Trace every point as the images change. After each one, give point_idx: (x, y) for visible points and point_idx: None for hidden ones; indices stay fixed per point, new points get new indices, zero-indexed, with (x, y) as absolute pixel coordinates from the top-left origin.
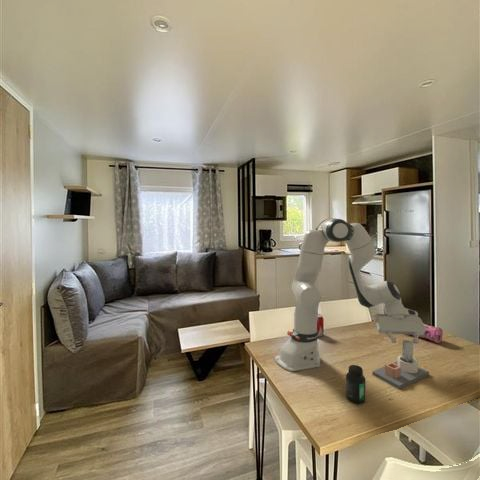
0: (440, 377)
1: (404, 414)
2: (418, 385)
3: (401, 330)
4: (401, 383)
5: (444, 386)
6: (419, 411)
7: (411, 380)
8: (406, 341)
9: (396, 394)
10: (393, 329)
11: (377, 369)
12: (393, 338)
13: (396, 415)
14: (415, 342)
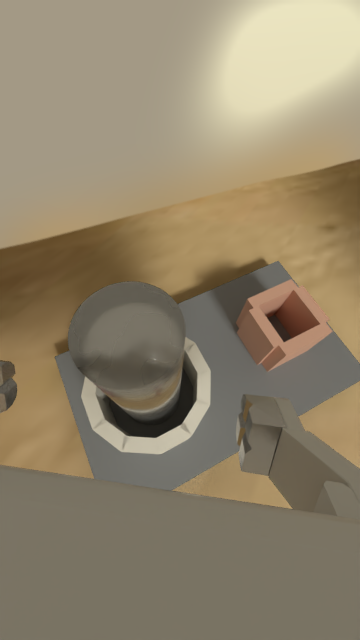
0: (24, 339)
1: (311, 175)
2: (177, 289)
3: (91, 488)
4: (261, 273)
5: (73, 278)
6: (262, 181)
7: (200, 295)
8: (132, 350)
9: (297, 246)
10: (312, 535)
11: (334, 393)
12: (282, 421)
13: (335, 173)
14: (11, 364)
